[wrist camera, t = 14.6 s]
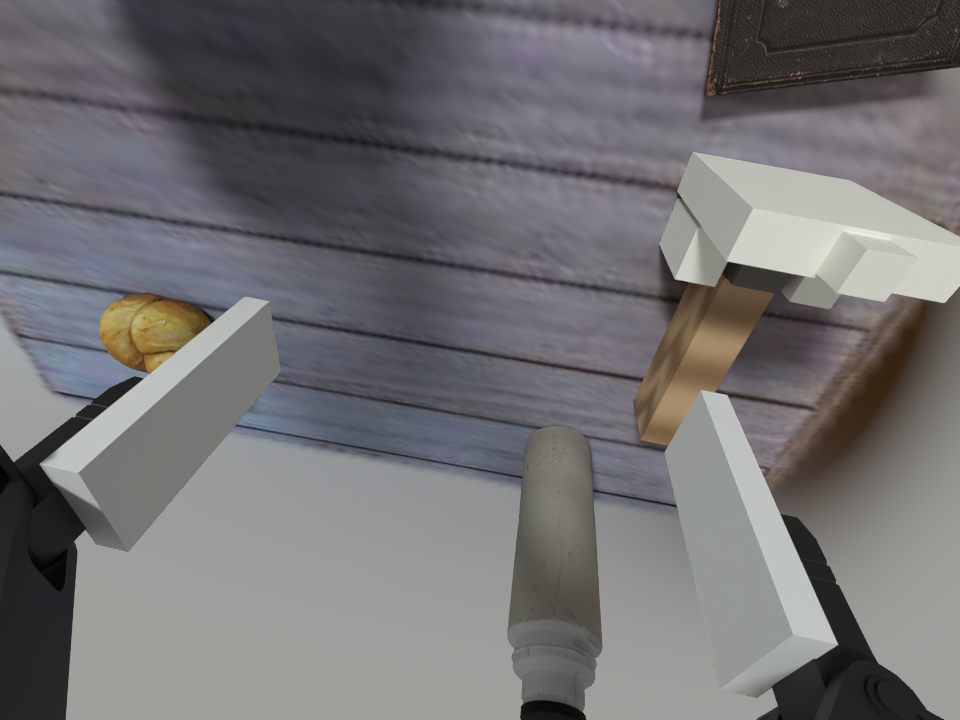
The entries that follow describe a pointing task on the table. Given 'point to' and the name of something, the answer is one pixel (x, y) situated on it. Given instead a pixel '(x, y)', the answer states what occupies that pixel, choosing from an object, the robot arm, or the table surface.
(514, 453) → the table surface
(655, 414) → the tan piece
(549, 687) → the thermos bottle
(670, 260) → the white block with nub
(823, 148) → the table surface
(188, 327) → the bread roll
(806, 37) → the hardcover book
